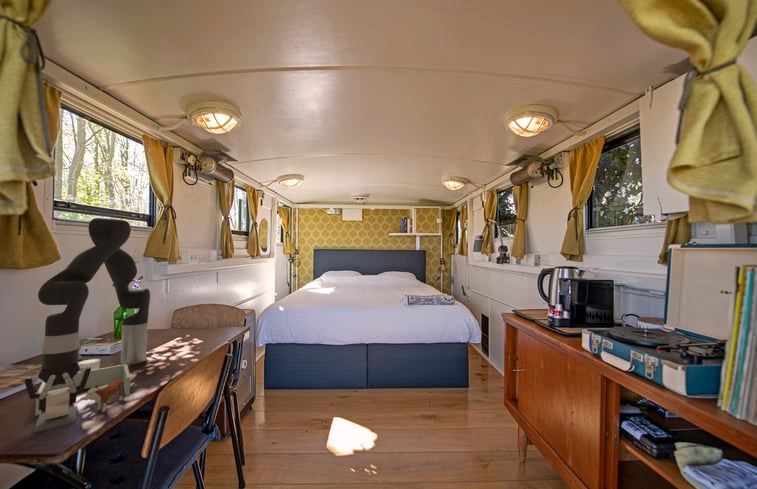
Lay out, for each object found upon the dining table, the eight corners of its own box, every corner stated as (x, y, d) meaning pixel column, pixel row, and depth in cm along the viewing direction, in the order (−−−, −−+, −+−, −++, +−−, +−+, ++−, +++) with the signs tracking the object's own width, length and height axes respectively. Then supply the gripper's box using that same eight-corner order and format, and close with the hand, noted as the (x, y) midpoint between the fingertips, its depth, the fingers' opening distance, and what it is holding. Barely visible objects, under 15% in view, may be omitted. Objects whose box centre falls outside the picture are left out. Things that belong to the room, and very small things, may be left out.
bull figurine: (79, 418, 91) (80, 390, 91) (114, 398, 104) (115, 373, 105) (94, 418, 91) (96, 390, 91) (128, 398, 104) (129, 373, 105)
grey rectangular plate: (39, 416, 92) (39, 414, 92) (77, 407, 97) (77, 406, 97) (33, 433, 83) (33, 431, 83) (75, 422, 89) (75, 420, 89)
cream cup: (76, 384, 115) (77, 365, 116) (74, 379, 120) (75, 361, 120) (100, 379, 120) (101, 361, 121) (98, 374, 125) (99, 357, 125)
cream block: (47, 413, 91) (47, 391, 91) (69, 408, 94) (69, 386, 94) (45, 419, 87) (46, 396, 87) (68, 414, 90) (69, 391, 91)
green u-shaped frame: (42, 396, 105) (44, 378, 106) (126, 379, 120) (126, 364, 120) (35, 415, 92) (36, 395, 92) (129, 394, 107) (130, 377, 107)
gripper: (94, 342, 99) (91, 396, 98) (26, 350, 89) (23, 411, 88) (94, 347, 93) (90, 404, 93) (22, 356, 84) (18, 421, 83)
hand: (57, 407), depth 90 cm, fingers open, 5 cm apart
